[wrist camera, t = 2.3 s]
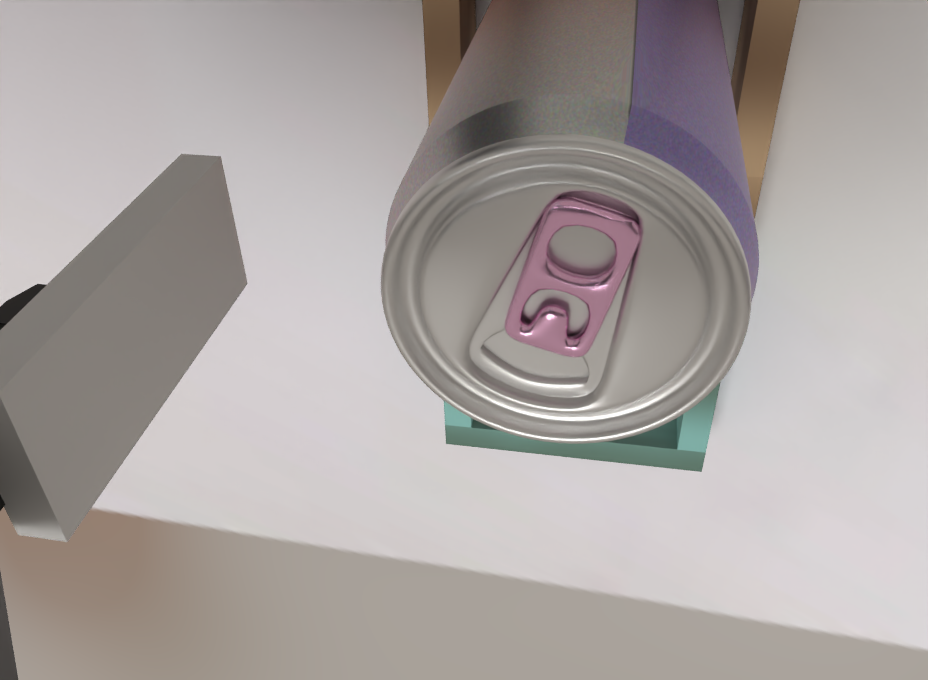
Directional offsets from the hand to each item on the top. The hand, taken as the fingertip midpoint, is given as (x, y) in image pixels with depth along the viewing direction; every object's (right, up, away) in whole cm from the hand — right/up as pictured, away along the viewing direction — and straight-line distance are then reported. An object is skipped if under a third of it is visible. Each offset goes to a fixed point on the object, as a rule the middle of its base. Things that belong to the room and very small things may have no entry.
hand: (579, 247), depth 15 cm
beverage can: (+2, +8, +10) cm, 13 cm away
